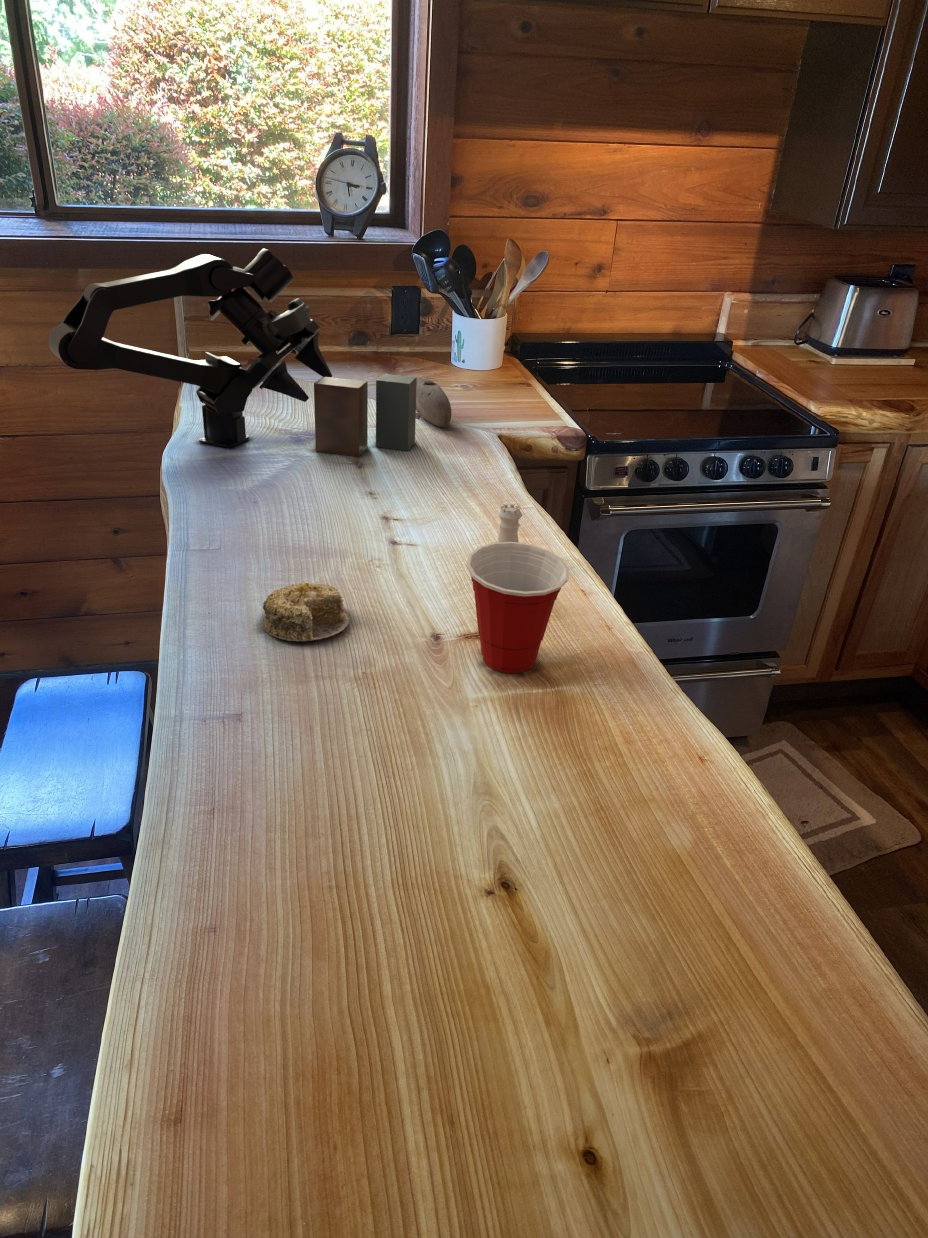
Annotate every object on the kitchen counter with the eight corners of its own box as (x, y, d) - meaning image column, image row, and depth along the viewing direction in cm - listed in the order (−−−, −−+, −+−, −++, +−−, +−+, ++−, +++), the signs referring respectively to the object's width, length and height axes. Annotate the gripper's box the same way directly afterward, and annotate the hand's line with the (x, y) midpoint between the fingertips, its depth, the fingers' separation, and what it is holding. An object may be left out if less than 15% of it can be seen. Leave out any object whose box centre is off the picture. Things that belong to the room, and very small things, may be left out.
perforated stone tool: (458, 431, 172) (460, 395, 169) (432, 433, 171) (434, 397, 167) (433, 410, 185) (434, 376, 181) (409, 411, 183) (409, 377, 180)
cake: (245, 637, 102) (239, 594, 99) (291, 602, 110) (286, 561, 108) (322, 651, 98) (318, 607, 96) (364, 613, 107) (361, 572, 104)
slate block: (375, 446, 162) (376, 379, 156) (383, 438, 166) (384, 373, 161) (407, 450, 161) (409, 383, 155) (415, 442, 165) (416, 376, 160)
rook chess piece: (527, 560, 123) (532, 505, 119) (515, 572, 119) (520, 516, 115) (497, 552, 124) (501, 498, 121) (484, 564, 121) (488, 509, 117)
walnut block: (315, 451, 158) (313, 382, 152) (325, 443, 162) (323, 376, 157) (359, 456, 157) (358, 387, 151) (367, 448, 161) (367, 380, 155)
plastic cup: (490, 697, 93) (498, 593, 87) (443, 647, 101) (448, 550, 95) (577, 675, 97) (591, 575, 92) (526, 629, 106) (535, 535, 100)
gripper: (247, 309, 141) (320, 383, 145) (302, 271, 154) (367, 339, 158) (214, 352, 148) (284, 422, 152) (269, 312, 161) (332, 377, 165)
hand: (319, 388), depth 157 cm, fingers open, 9 cm apart
